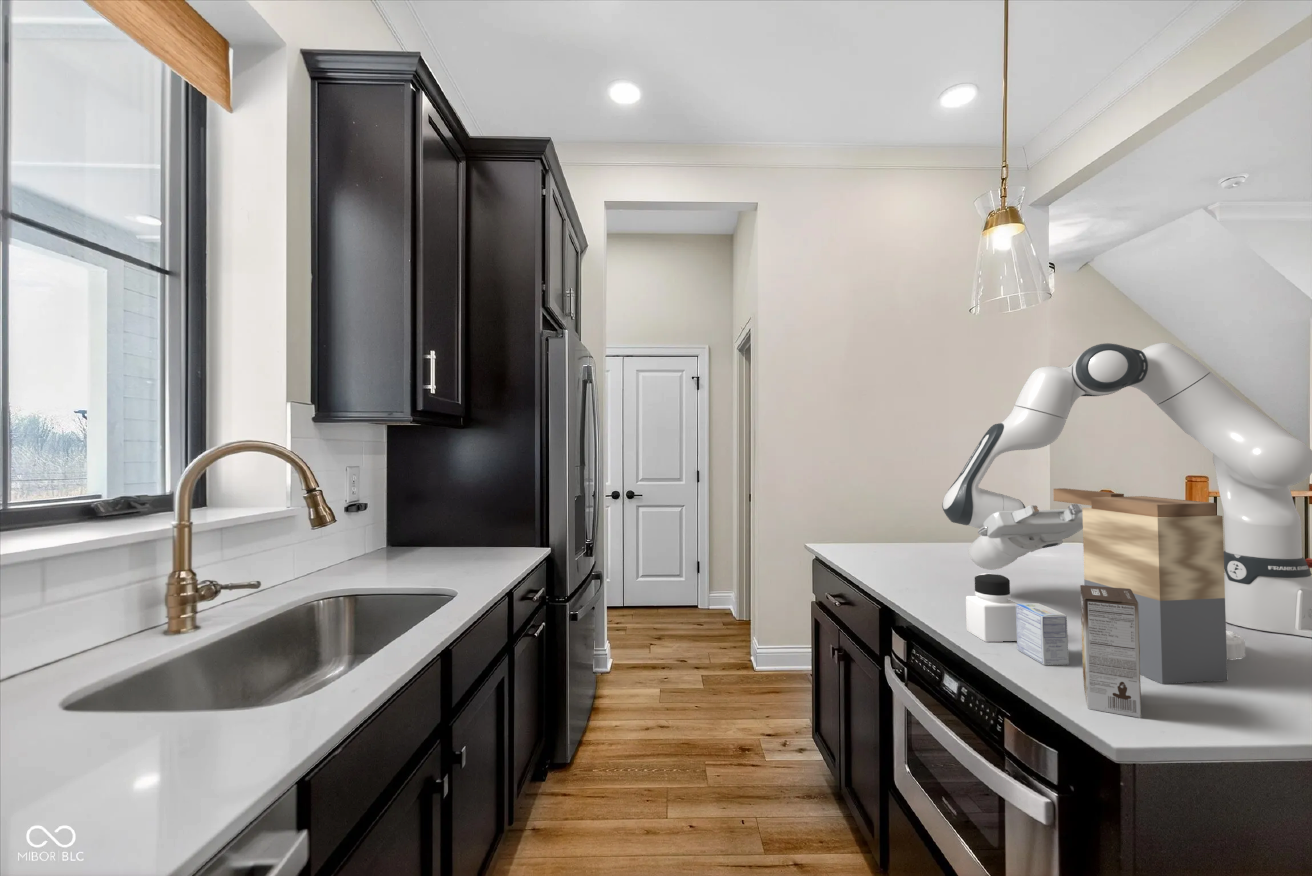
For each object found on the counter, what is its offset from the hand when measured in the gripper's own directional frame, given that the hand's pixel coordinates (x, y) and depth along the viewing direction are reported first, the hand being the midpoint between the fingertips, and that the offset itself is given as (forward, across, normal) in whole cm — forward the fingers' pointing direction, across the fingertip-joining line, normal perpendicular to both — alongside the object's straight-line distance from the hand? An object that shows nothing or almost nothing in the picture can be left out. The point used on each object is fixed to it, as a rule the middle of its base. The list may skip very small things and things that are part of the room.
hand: (1056, 507), depth 122 cm
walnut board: (+13, 0, +6) cm, 15 cm away
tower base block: (+6, 0, +32) cm, 32 cm away
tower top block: (+12, 0, +20) cm, 24 cm away
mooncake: (0, +15, +29) cm, 33 cm away
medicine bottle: (-9, -17, +23) cm, 30 cm away
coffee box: (+17, -19, +38) cm, 46 cm away
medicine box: (+1, -16, +29) cm, 33 cm away
